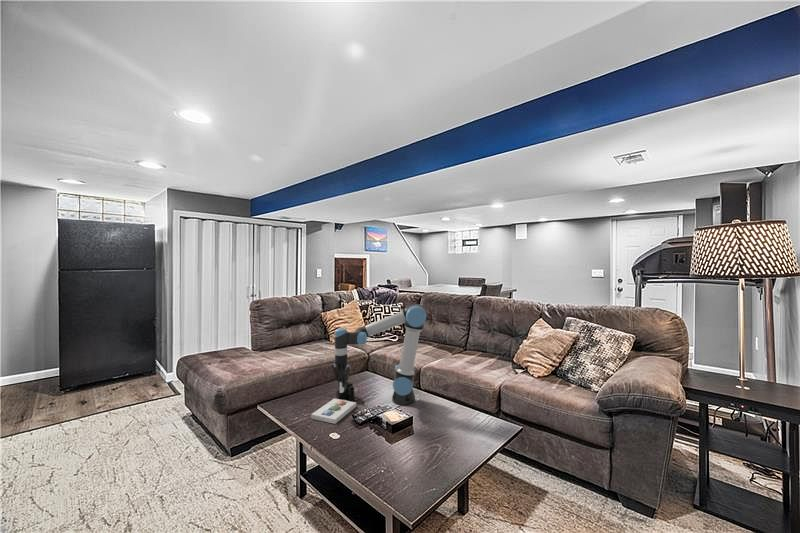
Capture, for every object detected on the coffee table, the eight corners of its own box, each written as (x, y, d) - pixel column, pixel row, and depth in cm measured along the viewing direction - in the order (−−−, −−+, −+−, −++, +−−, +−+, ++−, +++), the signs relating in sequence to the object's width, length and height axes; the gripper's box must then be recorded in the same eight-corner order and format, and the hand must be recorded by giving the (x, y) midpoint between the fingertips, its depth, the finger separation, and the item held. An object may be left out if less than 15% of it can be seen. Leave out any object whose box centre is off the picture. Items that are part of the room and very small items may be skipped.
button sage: (340, 408, 202) (340, 403, 202) (335, 412, 197) (335, 407, 197) (333, 407, 204) (333, 402, 203) (329, 410, 199) (329, 405, 199)
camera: (333, 396, 224) (333, 381, 224) (349, 393, 229) (349, 379, 229) (339, 404, 212) (339, 388, 212) (355, 401, 216) (355, 386, 216)
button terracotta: (346, 406, 208) (346, 401, 208) (342, 409, 204) (342, 404, 204) (339, 404, 210) (339, 399, 210) (335, 407, 206) (335, 402, 206)
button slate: (333, 415, 195) (333, 410, 195) (329, 419, 191) (329, 414, 191) (326, 414, 197) (326, 409, 197) (322, 417, 193) (322, 412, 192)
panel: (356, 406, 209) (356, 402, 209) (335, 423, 186) (335, 419, 186) (334, 402, 215) (334, 398, 214) (311, 418, 192) (311, 414, 192)
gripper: (353, 353, 207) (354, 391, 208) (335, 351, 212) (336, 388, 213) (347, 356, 200) (347, 395, 201) (328, 354, 205) (329, 392, 206)
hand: (341, 392), depth 207 cm, fingers closed
